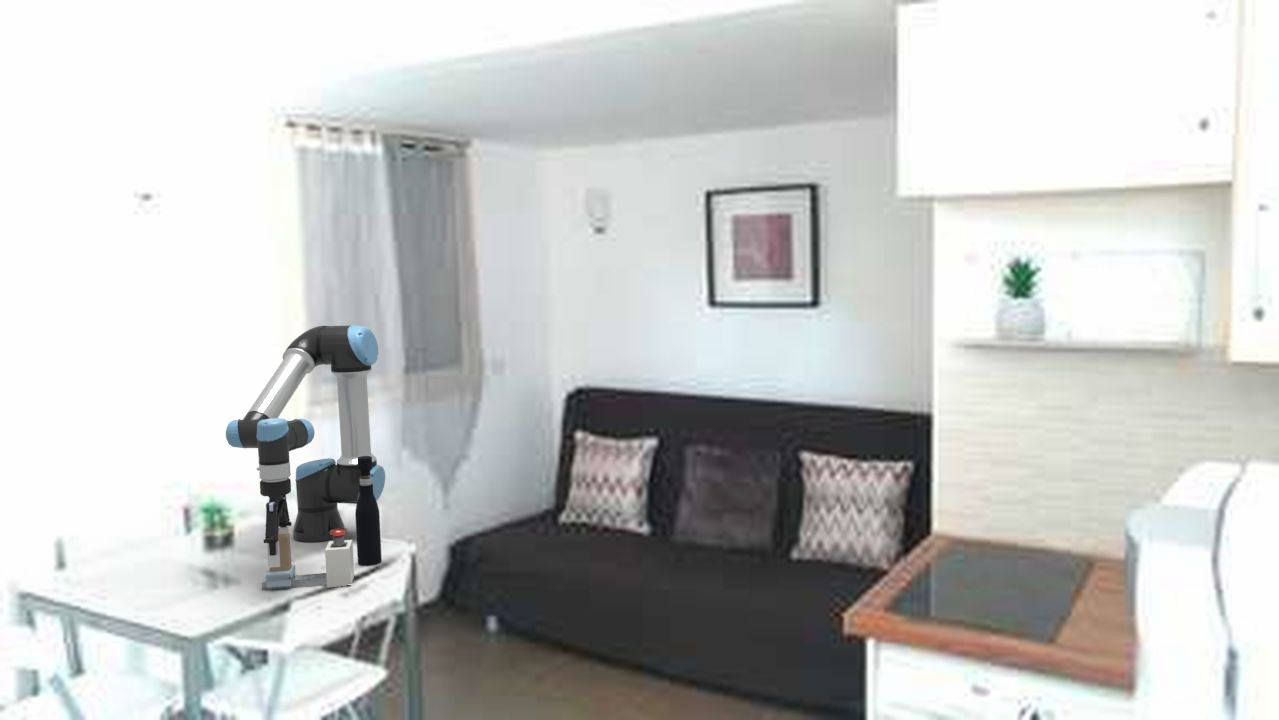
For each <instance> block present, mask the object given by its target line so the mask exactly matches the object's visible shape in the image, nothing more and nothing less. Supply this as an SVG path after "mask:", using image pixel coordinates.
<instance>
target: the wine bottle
mask: <svg viewBox="0 0 1279 720" xmlns="http://www.w3.org/2000/svg"><path fill="white" fill-rule="evenodd" d="M357 461H358V470H361V477H362V478H360V480H359V481H360V485H359V498H358V501H357V504H356V506H355V513H354V514H355V530H356V531H355V532H356V533H355V534H356V550H357V551H356V553H357V564H358V565H359V566H361V567H371V566H376V565H379V564H381V563H382V561H383V560H382V541H381V539H382V538H381V522H380V521H381V520H380V508H379V505H378V502H377V501H378V500H377V501H376V499H375V496H374V494H373V484H372V481H371V480H372V479H371V477H369V476H370V469H372V457H371V456H361V457H358V458H357Z"/></svg>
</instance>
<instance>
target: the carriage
mask: <svg viewBox="0 0 1279 720" xmlns="http://www.w3.org/2000/svg"><path fill="white" fill-rule="evenodd" d="M290 535H291V534H290V533H289V534H278V541H279V552H280V567H271V568H269V567H268V570H267V572H266V573H265V577H266V586H267V588H268V587H282V586H291V585H292V582H291V579H292V577H293V575H296V564H292V552H291V551H292V550H291V536H290Z"/></svg>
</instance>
